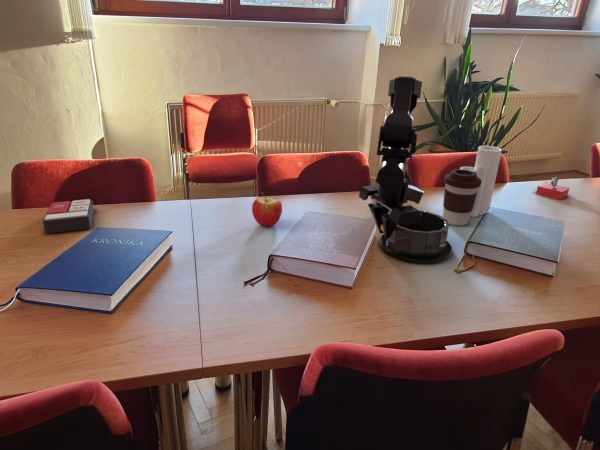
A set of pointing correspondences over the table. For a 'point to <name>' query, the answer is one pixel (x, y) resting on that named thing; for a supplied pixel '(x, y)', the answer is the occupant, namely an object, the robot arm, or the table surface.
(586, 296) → the table surface
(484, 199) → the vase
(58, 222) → the grey labelled box
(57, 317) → the table surface
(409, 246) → the bowl
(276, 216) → the apple
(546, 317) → the table surface
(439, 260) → the turntable
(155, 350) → the table surface
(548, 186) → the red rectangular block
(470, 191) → the coffee cup
